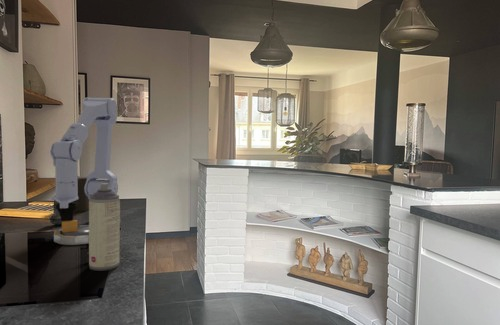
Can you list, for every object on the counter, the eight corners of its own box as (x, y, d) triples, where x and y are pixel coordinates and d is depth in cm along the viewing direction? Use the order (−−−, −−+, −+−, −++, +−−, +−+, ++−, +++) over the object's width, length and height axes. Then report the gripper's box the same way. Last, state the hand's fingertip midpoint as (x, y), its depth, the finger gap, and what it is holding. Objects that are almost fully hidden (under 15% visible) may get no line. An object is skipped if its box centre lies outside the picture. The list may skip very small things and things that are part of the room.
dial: (95, 231, 112) (95, 215, 112) (100, 239, 104) (100, 222, 104) (61, 235, 107) (61, 218, 107) (63, 243, 99) (63, 225, 99)
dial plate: (89, 231, 116) (89, 221, 116) (118, 239, 108) (118, 229, 108) (42, 241, 104) (41, 230, 103) (70, 252, 95) (70, 240, 95)
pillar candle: (83, 212, 142) (83, 175, 142) (59, 211, 143) (59, 174, 142) (94, 208, 152) (94, 173, 151) (71, 207, 152) (72, 172, 151)
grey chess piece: (60, 229, 117) (59, 193, 116) (44, 228, 118) (44, 192, 117) (72, 225, 122) (72, 191, 122) (57, 224, 124) (57, 190, 123)
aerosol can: (104, 258, 91) (105, 181, 90) (125, 263, 88) (126, 183, 87) (82, 267, 85) (82, 184, 83) (104, 272, 82) (104, 186, 81)
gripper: (54, 178, 109) (55, 222, 110) (46, 185, 96) (47, 235, 97) (80, 178, 112) (80, 221, 113) (76, 185, 98) (76, 233, 99)
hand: (67, 227), depth 105 cm, fingers closed, pressing on dial
